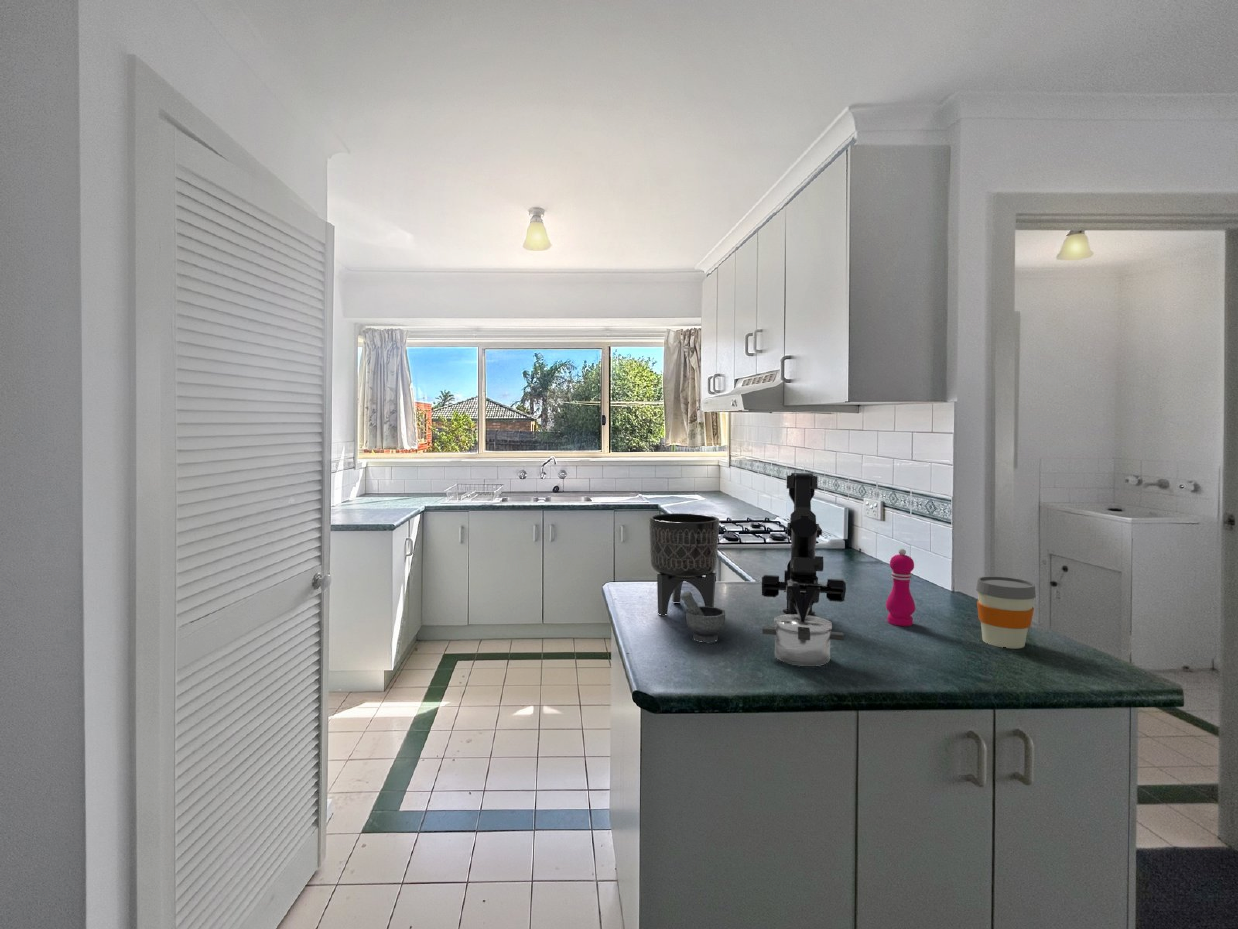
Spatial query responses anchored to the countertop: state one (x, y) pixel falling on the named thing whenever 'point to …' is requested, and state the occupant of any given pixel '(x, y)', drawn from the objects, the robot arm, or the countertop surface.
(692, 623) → the mortar and pestle
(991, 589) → the reusable coffee cup
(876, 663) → the countertop surface
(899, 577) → the pepper mill
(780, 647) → the steel pot
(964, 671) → the countertop surface
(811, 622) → the steel lid
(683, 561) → the planter
